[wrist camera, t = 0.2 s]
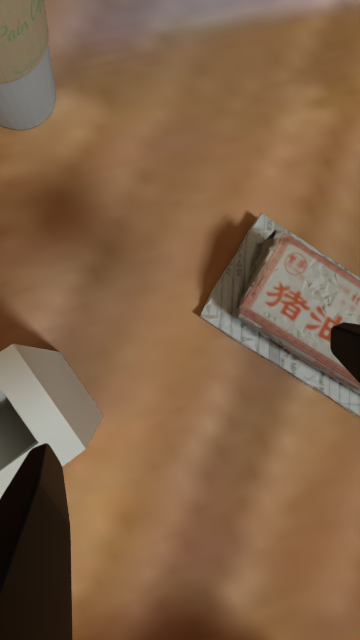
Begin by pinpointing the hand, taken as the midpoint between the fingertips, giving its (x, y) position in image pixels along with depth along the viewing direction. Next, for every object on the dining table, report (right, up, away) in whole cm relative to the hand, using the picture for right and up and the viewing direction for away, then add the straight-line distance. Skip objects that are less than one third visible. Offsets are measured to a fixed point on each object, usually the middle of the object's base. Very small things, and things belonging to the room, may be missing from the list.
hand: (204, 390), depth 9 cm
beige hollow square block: (-10, -4, +13) cm, 17 cm away
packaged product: (+11, +2, +17) cm, 20 cm away
